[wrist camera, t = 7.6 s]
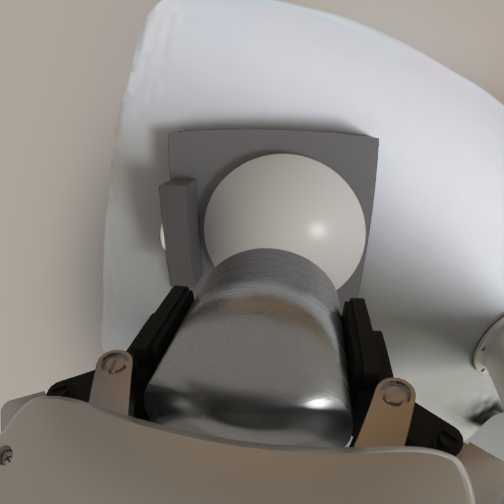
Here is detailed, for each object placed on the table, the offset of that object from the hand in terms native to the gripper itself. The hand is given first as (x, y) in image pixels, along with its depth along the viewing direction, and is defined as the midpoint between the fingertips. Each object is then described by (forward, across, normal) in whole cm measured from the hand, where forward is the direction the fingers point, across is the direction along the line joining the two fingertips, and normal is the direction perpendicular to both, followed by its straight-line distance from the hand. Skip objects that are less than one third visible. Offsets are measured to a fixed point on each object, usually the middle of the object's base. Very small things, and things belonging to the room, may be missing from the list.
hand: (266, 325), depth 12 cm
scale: (+20, +2, +3) cm, 20 cm away
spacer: (+1, 0, 0) cm, 1 cm away
